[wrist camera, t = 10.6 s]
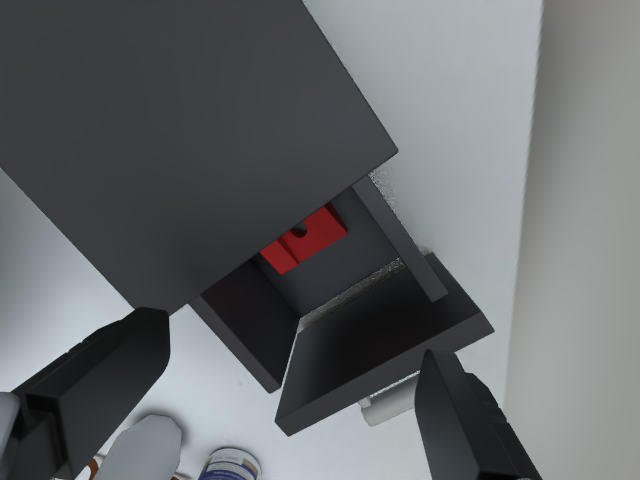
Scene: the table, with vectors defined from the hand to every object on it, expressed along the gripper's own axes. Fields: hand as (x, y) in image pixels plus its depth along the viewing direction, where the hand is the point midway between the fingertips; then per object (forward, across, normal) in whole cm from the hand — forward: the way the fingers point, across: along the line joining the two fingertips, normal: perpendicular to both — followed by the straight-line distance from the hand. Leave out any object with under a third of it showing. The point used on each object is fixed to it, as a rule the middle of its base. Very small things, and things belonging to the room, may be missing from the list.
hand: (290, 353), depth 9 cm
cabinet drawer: (+12, -1, +1) cm, 12 cm away
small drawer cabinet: (+13, +7, -8) cm, 16 cm away
